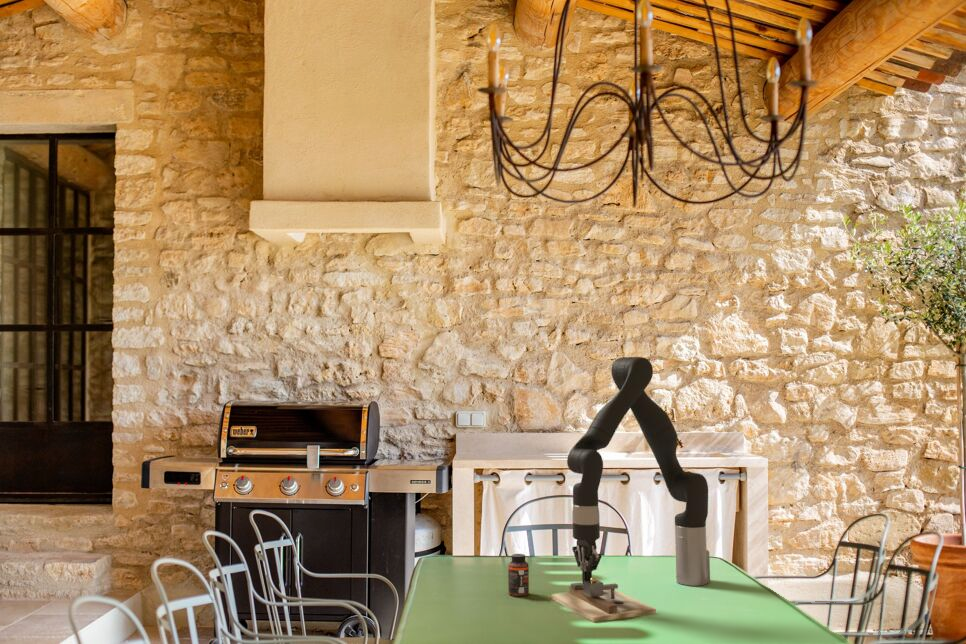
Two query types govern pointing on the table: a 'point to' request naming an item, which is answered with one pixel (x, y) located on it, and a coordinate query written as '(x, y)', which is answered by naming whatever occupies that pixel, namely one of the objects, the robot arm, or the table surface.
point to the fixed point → (577, 586)
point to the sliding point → (598, 588)
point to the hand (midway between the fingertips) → (587, 584)
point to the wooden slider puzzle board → (602, 605)
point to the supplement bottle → (518, 576)
